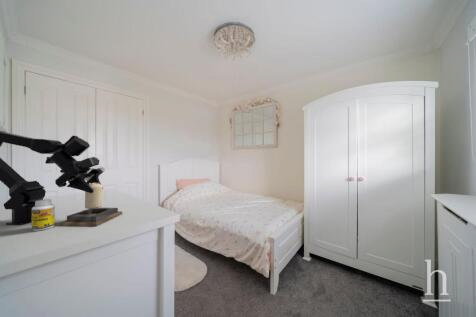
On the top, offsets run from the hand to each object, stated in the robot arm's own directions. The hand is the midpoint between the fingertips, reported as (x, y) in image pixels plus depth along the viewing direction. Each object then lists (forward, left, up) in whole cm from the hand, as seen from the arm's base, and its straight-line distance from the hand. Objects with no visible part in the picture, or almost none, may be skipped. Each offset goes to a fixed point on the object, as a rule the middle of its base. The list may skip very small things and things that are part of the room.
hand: (97, 190), depth 73 cm
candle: (-1, 0, -7) cm, 7 cm away
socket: (-1, 0, -12) cm, 12 cm away
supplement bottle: (-12, -10, -12) cm, 20 cm away
